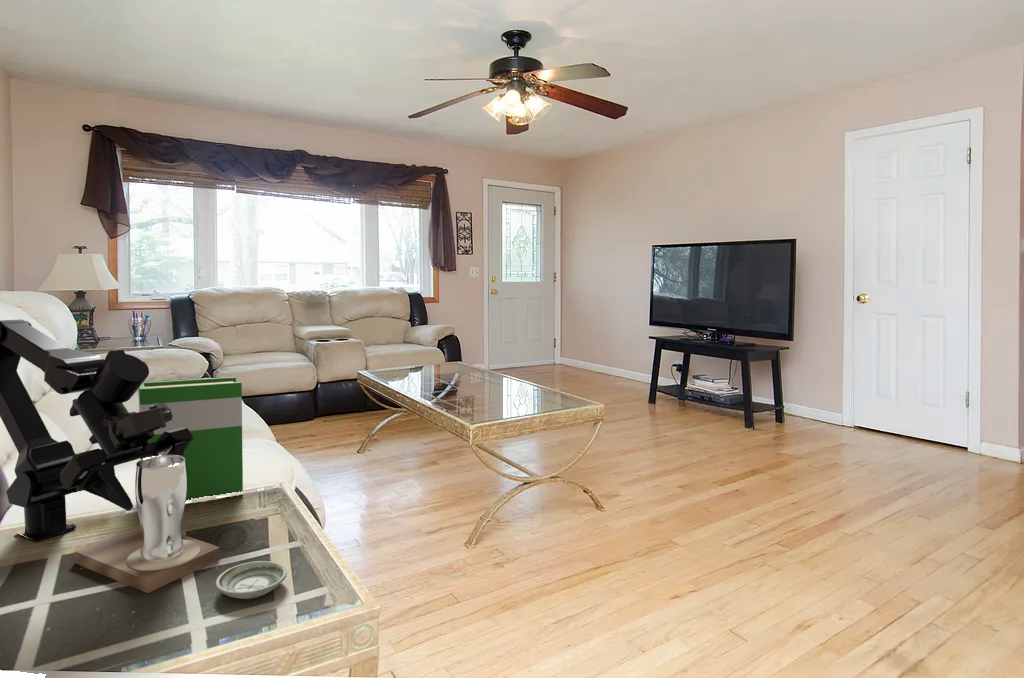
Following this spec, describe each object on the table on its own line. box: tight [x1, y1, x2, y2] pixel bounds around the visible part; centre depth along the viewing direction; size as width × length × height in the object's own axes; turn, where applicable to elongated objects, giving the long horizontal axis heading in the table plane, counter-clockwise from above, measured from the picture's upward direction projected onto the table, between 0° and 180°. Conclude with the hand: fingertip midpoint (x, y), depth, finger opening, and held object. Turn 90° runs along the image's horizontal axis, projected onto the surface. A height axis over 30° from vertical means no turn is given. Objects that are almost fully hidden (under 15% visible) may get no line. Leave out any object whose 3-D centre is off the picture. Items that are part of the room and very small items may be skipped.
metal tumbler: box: [134, 455, 187, 562], centre depth 92 cm, size 7×7×15 cm
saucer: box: [215, 560, 288, 600], centre depth 87 cm, size 10×10×2 cm
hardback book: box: [137, 376, 244, 500], centre depth 120 cm, size 18×7×24 cm, turn 124°
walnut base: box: [74, 526, 221, 594], centre depth 94 cm, size 18×12×2 cm, turn 65°
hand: (159, 498), depth 92 cm, fingers open, 9 cm apart
